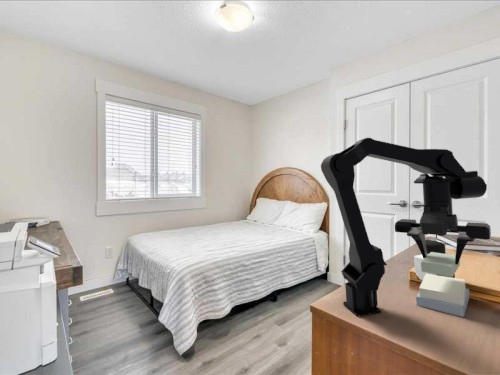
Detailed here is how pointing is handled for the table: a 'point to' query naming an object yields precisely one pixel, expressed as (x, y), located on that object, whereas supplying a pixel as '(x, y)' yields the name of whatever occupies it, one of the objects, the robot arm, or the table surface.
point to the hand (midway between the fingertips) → (440, 261)
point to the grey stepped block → (443, 294)
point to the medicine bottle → (431, 247)
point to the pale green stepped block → (440, 264)
